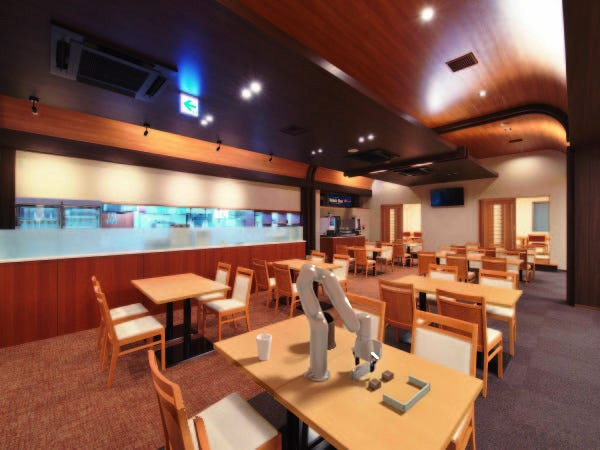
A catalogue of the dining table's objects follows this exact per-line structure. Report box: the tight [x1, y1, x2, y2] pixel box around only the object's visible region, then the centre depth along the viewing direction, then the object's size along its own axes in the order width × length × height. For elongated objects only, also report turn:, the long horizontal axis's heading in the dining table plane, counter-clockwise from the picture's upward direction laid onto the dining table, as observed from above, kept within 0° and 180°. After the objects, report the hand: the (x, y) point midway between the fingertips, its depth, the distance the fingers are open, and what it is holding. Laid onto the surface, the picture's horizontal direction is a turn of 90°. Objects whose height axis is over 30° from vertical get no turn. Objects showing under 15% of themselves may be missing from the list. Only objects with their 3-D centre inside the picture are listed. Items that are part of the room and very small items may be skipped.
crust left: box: [367, 377, 382, 391], centre depth 136 cm, size 5×4×3 cm
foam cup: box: [255, 333, 273, 362], centre depth 165 cm, size 10×9×13 cm
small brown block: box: [381, 369, 395, 382], centre depth 144 cm, size 5×4×3 cm
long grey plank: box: [349, 359, 377, 382], centre depth 149 cm, size 20×2×5 cm, turn 131°
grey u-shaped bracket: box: [382, 374, 431, 414], centre depth 130 cm, size 25×11×4 cm, turn 131°
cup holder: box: [322, 310, 337, 351], centre depth 182 cm, size 18×24×25 cm
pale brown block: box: [371, 338, 383, 360], centre depth 168 cm, size 4×7×10 cm, turn 53°
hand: (364, 368), depth 149 cm, fingers open, 9 cm apart
